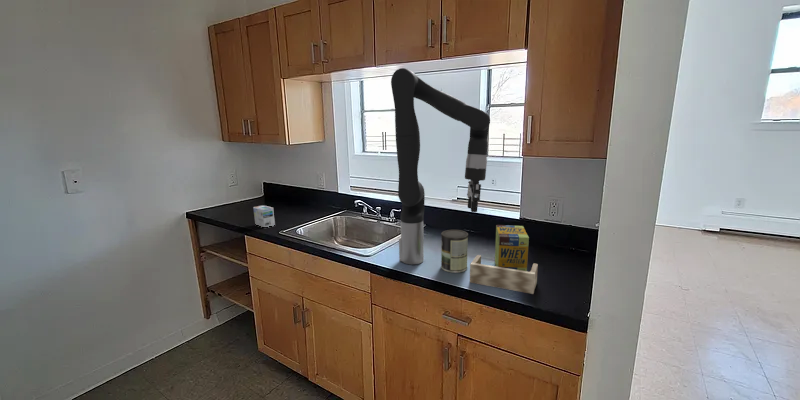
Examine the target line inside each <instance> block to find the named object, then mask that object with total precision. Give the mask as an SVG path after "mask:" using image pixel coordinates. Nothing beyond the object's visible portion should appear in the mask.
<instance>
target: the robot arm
mask: <svg viewBox="0 0 800 400" xmlns="http://www.w3.org/2000/svg"><path fill="white" fill-rule="evenodd" d="M390 85H391V92H392V97H393V105H394V126H395V127H394V128H395V145H396V147H395V148H396V155H397V157H396V159H397V167H398V187H397V190H398V191H397V195H398V198H399V201H400V202H401V212H400V238H399V239H398V250H399V251H398V252H399V253H398V255H399V257H398V258H399V259H398V260H399V262H401V263H404V264H406V265H418V264H422V263H423V262H425V261H424V258H425V257H424V256H425V255H424V253H425V251H424V250H425V249H424V215H425V200H426V199H425V195H426V194H425V188H424V186H423V184H422V183H421V182H420V181H419V177H418V176H419V175H418V174H419V173H418V172H419V171H418V170H419V169H418V168H419V162H420V152H421V135H420V128H419V123H418V119H417V115H416V110H415V101H414V100H415V99H417V100H420V101H422V102H424V103H426V104H427V105H429V106H431V107H432V108H433V109H435V110H436V111H438V112H440V113H441V114H444V115H446V116H447V117H449V118H451V119H452V120H455V121H457V122H461V123H463V124H465V126H468V127H469V140H468V144H467V152H466V153H467V156H466V161H465V170H464V179H465V180H468V184H467V193H466V196H467V208H468V209H470V211H471V213H476V212H478V204H479V202H480V201H481V191H482V190H481V189H482V184H480V181H485V180H486V175H487V163H488V161H487V160H488V157H487V155H488V137H489V129H490V125H491V118H490V116H489V115H490V114H488V113H487V112H486V111H484V110H482V109H480V108H478V107H475V106H473V105H470V104H467V103H466V102H465V101H463V100H461V99H459V98H457V97H455V96H453V95H451V94H450V93H447V92H445V91H442V90H439V89H437V88H436V87H433V86H432V85H430V84H429V83H427V82H426V81H424V80H423V79H421V78H420V77H419V76H418V75H417V74H416V73H415V72H413V71H412V70H411V69H408V68H403V67H402V68H398V69H396V70H395V71H394V72H393V74H392V76H391V79H390Z"/></svg>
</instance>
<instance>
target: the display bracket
mask: <svg viewBox="0 0 800 400" xmlns="http://www.w3.org/2000/svg"><path fill="white" fill-rule="evenodd" d="M538 265H539V264H538V263H534V262H533V264H532V267H531V269H530V271H528V270H527V271H522V270H515V269H509V268H503V267H496V265H489V264H483V263H482V255H481V254H477V255H476V256H475V257H474V258H473V260H472V261H471V263H470V264H469V283H471V284H476V285H482V286H487V287H493V288H498V289H504V290H509V291H515V292H519V293H520V292H521V293H525V294H531V295H534V293H535V289H536V286H537V284H538V283H537V282H538V269H539V268H538V267H539V266H538Z"/></svg>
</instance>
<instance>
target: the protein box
mask: <svg viewBox="0 0 800 400" xmlns="http://www.w3.org/2000/svg"><path fill="white" fill-rule="evenodd" d="M529 240H530V237H529V235H528V233H527V232H526V229H525V227H524V225H509V224H507V225H505V224H496V225H495V245H494V246H495V248H494V264H495V266H496V267H503V268H509V269H515V270H522V271H528V257H529V243H530V241H529Z"/></svg>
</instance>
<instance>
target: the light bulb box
mask: <svg viewBox="0 0 800 400" xmlns="http://www.w3.org/2000/svg"><path fill="white" fill-rule="evenodd" d="M252 208H253V215H254V223H255V224H256V225H259V226H261V227H260V228H262V227H268V228H270V227H269V226H272V227H275V226H276V221H275V220H276V219H275V215H274V214H275V213H274V207H271V206H267V205H265V204H264V205H263V204H262V205H258V206H253V207H252ZM255 224H254V225H255ZM256 225H255V226H256ZM274 225H275V226H274ZM259 226H258V227H259Z"/></svg>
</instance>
